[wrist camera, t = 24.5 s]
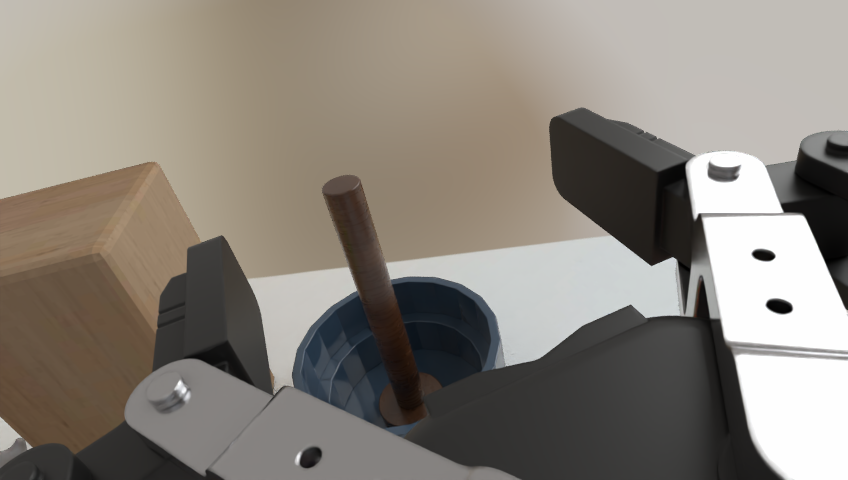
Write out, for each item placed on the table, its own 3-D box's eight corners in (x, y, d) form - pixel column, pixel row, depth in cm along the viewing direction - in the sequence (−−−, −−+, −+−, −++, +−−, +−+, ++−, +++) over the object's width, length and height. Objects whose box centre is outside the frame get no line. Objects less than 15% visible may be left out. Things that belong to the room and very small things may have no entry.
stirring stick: (432, 371, 39) (371, 153, 29) (456, 418, 35) (396, 187, 25) (374, 396, 38) (290, 181, 28) (392, 447, 35) (303, 220, 24)
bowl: (464, 320, 44) (449, 254, 40) (548, 448, 33) (540, 375, 29) (311, 384, 41) (280, 320, 37) (350, 544, 31) (312, 478, 27)
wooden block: (156, 407, 43) (-6, 197, 31) (276, 376, 43) (159, 156, 32) (115, 531, 34) (-125, 306, 23) (265, 492, 35) (99, 250, 23)
